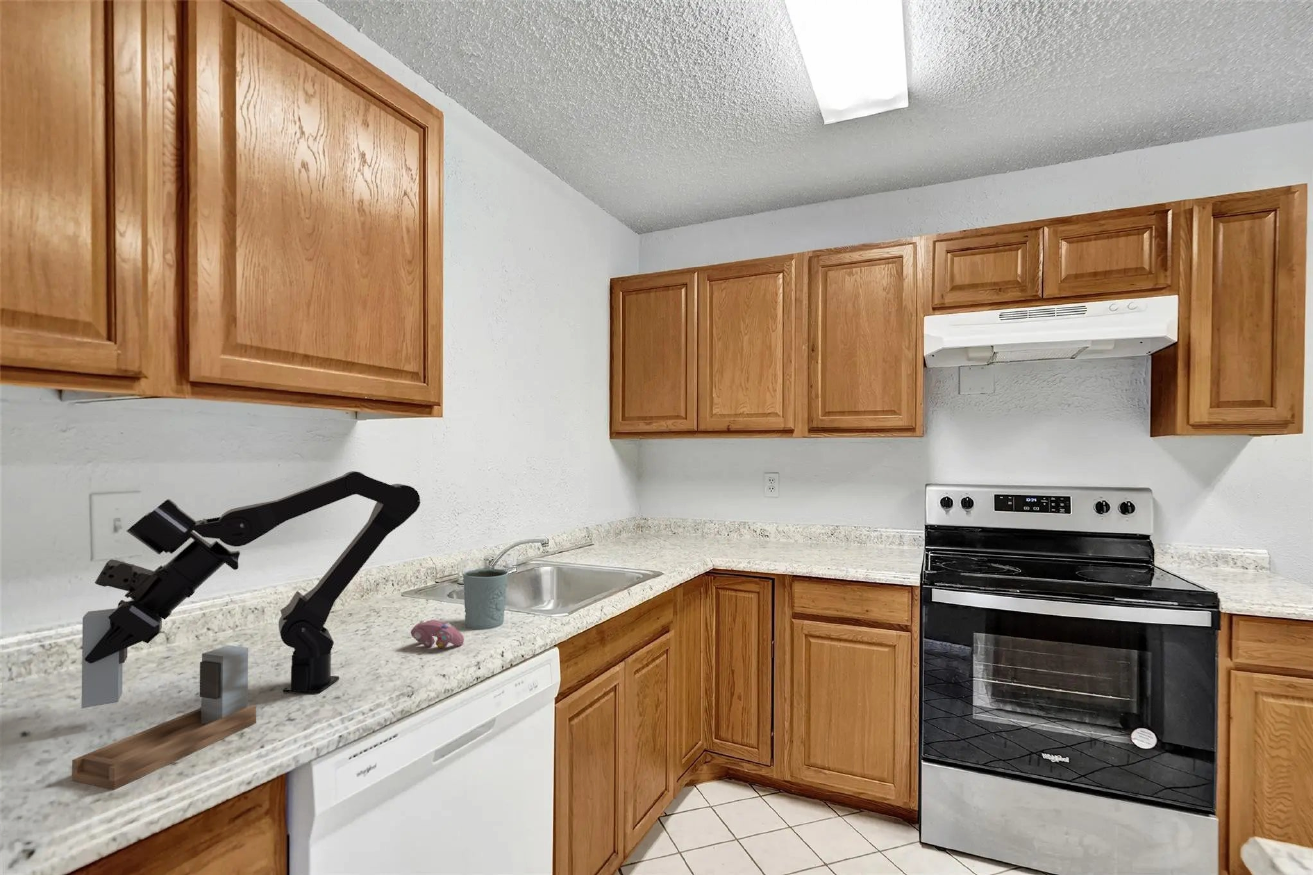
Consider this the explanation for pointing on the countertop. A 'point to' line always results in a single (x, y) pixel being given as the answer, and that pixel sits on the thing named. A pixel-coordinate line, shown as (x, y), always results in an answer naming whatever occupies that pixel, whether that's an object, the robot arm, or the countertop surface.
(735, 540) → the countertop surface
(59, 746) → the countertop surface
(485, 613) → the grey green cup
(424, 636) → the video game controller
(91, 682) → the slate finger
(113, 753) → the walnut rail
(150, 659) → the countertop surface
